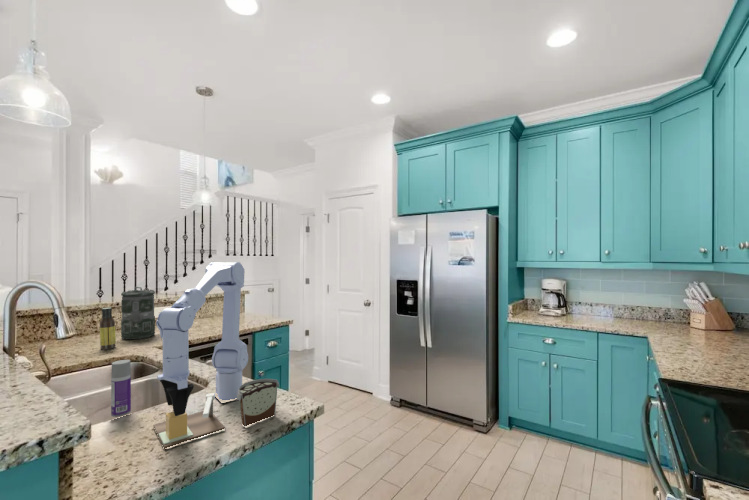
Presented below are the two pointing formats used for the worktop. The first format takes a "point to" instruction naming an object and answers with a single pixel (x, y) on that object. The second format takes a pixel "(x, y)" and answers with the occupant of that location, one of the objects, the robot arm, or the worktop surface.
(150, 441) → the worktop surface
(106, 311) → the sauce bottle
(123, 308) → the green backpack
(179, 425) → the plug block
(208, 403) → the strap
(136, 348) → the worktop surface
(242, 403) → the food container
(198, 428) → the brown tray
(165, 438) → the sage mat
